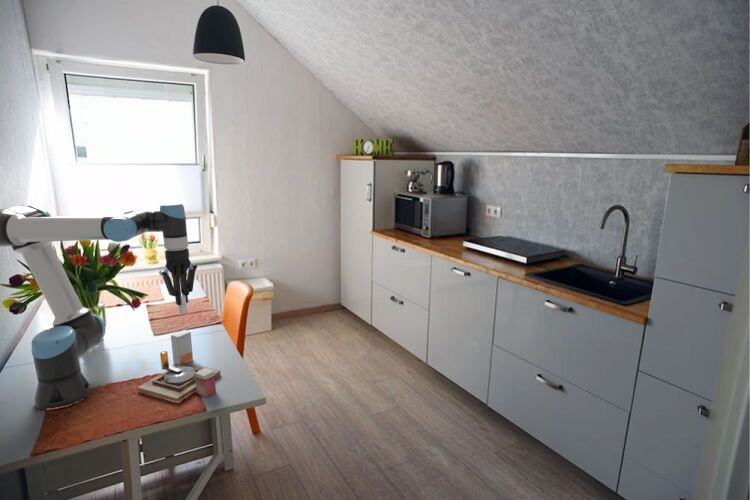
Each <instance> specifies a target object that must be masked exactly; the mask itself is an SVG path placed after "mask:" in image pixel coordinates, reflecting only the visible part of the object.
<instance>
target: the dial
mask: <svg viewBox="0 0 750 500" xmlns="http://www.w3.org/2000/svg"><path fill="white" fill-rule="evenodd" d="M159 357H160V364H161V370H163V371H164V370H165V371H167V370H168V372H167V373H166V374H165V375H164V379H165V383H167V384H171V385H175V386H176V385H182V384H185V383H187V382H188V381H190V380H191V379H193V378H195V369H194V368H192V367H178V368H175V367H174V366H172V365H170V363H169V353H168V351H167V350H166V351H161V352H160V353H159Z"/></svg>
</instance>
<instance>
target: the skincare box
mask: <svg viewBox="0 0 750 500" xmlns="http://www.w3.org/2000/svg"><path fill="white" fill-rule="evenodd" d="M170 341H171V351H172V360H173V364H175V365H178V364H180V363H182V362H186V363H190V362H191V361H194V355H193V345H192V344H193V343H192V333H191V331H189V330H186V329H183V330H181V331H178V332H175V333H172V334H171V335H170Z"/></svg>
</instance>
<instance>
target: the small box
mask: <svg viewBox="0 0 750 500" xmlns="http://www.w3.org/2000/svg"><path fill="white" fill-rule="evenodd" d="M207 368H208V367H207ZM207 368H204V369H201V370H199V371H198V372H196V373H195V377H196V389H197V392H198V393H199V394H198V393H197V392H196V393H197V394H198V395H200V394H201V395H200V396H202V395H203V396H202V397H205V396H206V397H205V398H208V397H209V396H211V395H213V394H215V393H216V392H217V389H216V387H217V386H216V379H215V372H214V371H212V370H210V369H207Z"/></svg>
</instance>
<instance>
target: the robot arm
mask: <svg viewBox="0 0 750 500" xmlns="http://www.w3.org/2000/svg"><path fill="white" fill-rule="evenodd" d="M186 217H187V215H186V211H185V206H184V205H183V204H182V203H181V202H180V203H179V202H170V203H169V202H168V203H162V204H160V205H159V209H136V208H135V209H128V210H125V211H124V212H123V214H121V215H117V214H116V215H80V216H79V215H78V216H75V215H72V216H52V215H51V214H50V213H49V211H48V210H46V209H45V208H43V207H40V206H37V205H33V204H28V205H27V204H22V205H17V206H13V207H8V208H2V209H0V247H3V248H4V247H11V248H12V250H13V252H15V253H18V254H21V255H22V257H23V259H24V261H25V263H26V265H27V266H28V268H29V270H30V272H31V274H32V277H33V278H34V281H35V282H36V284H37V286H38V288H39V290H40V291H41V293H42V296H43V297H44V298H45V299H44V300H45V301H46V303H47V305H48V308H49V309H50V311H51V313H52V314H53V316H54V320H53V322H52V327H50V328H49V329H45V330H42V331H40V332H38V333H37V334H36V335H34V337H33V338H32V340H31V354H32V357H33V358H32V359H33V362H34V368H35V373H36V377H37V386H36V390H35V396H34V405H35V408H36V409H37V410H40V411H44V410H46V409H47V408H55V407H61V406H66V405H70V404H73V403H75V402H77V401H80V400H81V399H83V398H85V397H86V396H87V395H88V394H89V393H90V394H91V387H90V386H91V385H90V383H89V382H88V380H87V379H86V377H85V375H84V374H83V372H82V370H81V369H82V368H81V362H80V358H81V357H83V356H84V355H85V354H86V353H87V352H89V351H90V350H91V349H93V348H95V347H96V346H97V345H98V344H99V343H100V342H101V341H102V339H103V338H104V336H105V334H106V324H105V322H104V320H103V319H102V318H101V317H100V316H99V315H97V314H95V313H92V311H91V309H90V308H87V307H85V306H83V305H82V303H81V301H80V298H79V297H78V295H77V292H76V291H75V289H74V286H73V284H72V283H71V281H70V279H69V277H68V275H67V272H66V271H65V269H64V267H63V264H62V263H61V260H60V259H59V256H58V255H57V253H56V251H55V249H54V247H53V245H52V244H53V242H69V241H72V242H73V241H105V240H107V241H110V240H111V241H112V242H115V243H122V242H125V241H127V242H128V241H129V240H131V239H133V238H135V237H138V236H140V235H143V234H144V233H155V232H158V233H160V232H162V236H163V237H162V238H163V246H164V247H163V248H164V249H165V250H164V257H165V262H166V263H165V266H164V267H165V268H163V270H160V271H159V272H158V274H159V275H160V277H162V278H163V281H164V284H165V287H166V289H167V292H168V295H169V296H172V297H174V298H175V304H176V305H177V306H178V313H180V314H182V315H186V314H187V313H188V308H187V307H188V306H187V304H188V303H189V297H188V296H189V295H190V293H192V292H193V290H194V282H195V274H196V271H197V268H198V265H197V264H194V263H192V262H191V260H190V251H189V250H190V249H189V248H188V247H189V240H188V233H187V232H188V231H187V220H186V219H187V218H186ZM169 274H171V277H172V279H171V277H170V275H169ZM90 394H89V395H90ZM89 395H88V396H89ZM88 396H87V397H88ZM87 397H86V398H87ZM86 398H85V399H86Z"/></svg>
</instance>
